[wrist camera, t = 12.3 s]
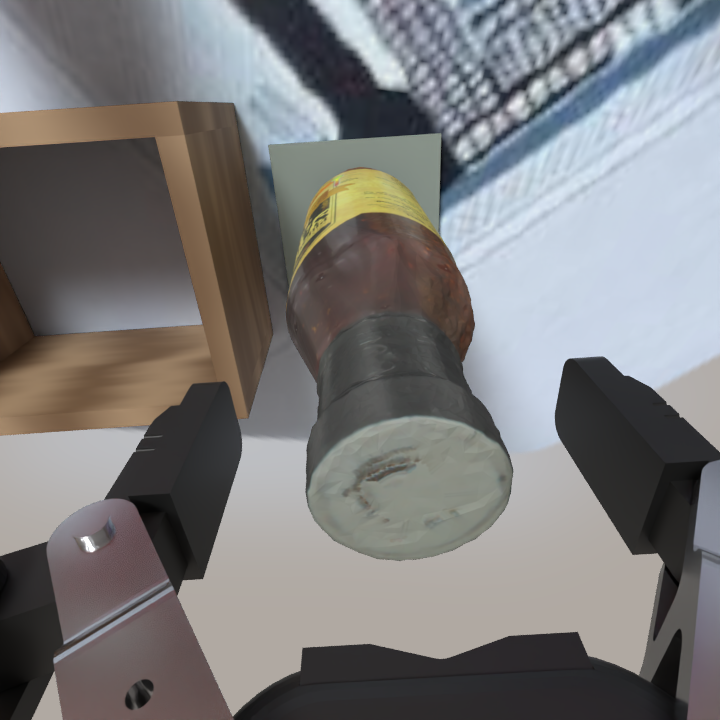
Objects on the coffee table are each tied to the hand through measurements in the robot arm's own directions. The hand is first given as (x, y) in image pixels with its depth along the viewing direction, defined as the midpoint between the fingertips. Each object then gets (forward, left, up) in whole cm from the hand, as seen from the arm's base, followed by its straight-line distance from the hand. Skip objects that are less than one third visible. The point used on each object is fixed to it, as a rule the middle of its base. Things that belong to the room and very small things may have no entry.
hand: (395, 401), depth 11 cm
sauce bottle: (0, 0, -17) cm, 17 cm away
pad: (0, 0, -17) cm, 17 cm away
